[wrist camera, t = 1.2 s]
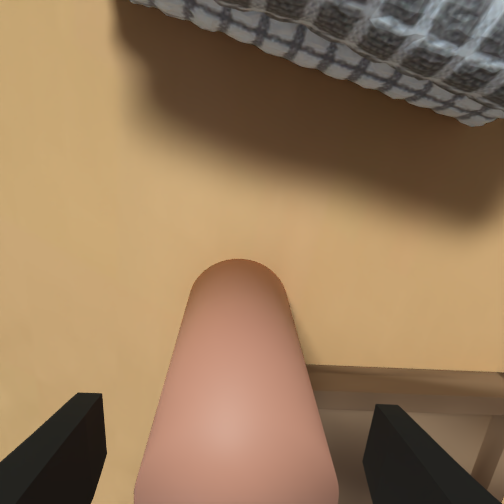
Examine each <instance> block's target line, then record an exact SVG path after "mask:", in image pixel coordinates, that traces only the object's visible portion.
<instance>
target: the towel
mask: <svg viewBox="0 0 504 504" xmlns="http://www.w3.org/2000/svg"><path fill="white" fill-rule="evenodd" d="M129 1H131V2H132V3H134V4H141V5H144V6H146V7H155V8H157V9H160V10H161V11H162V12H163V13H164V14H166V15H167V16H170V17H175V18H178V19H181V20H189V21H191V22H192V23H194V24H196V25H197V26H198V27H200V28H201V29H205V30H208V31H211V32H215V31H221V32H224V33H225V34H227V35H228V36H230V37H232V38H234V39H236V40H237V41H240V42H242V43H248V44H254V45H255V46H257V47H258V48H259V49H261V50H263V51H264V52H265V53H267V54H271V55H274V56H279V57H283V58H285V59H288V60H289V61H291V62H293V63H294V64H297V65H299V66H302V67H306V68H314V69H318V70H320V71H321V72H323V73H324V74H326V75H328V76H331V77H333V78H336V79H340V80H345V79H347V80H349V81H351V82H354V83H356V84H358V85H360V86H361V87H363V88H370V89H375V90H379V91H381V92H382V93H384V94H385V95H388V96H389V97H391V98H392V99H405V100H406V101H407V102H408V103H410V104H413V105H416V106H418V107H425V108H431V109H432V110H433V111H434V112H436V113H437V114H442V115H446V116H450V117H454V118H455V119H457V120H458V121H459V122H461V123H463V124H466V125H468V126H470V127H474V126H483V125H484V124H485V123H489V122H492V121H494V120H495V119H497V118H504V0H129Z"/></svg>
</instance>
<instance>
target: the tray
mask: <svg viewBox="0 0 504 504" xmlns="http://www.w3.org/2000/svg"><path fill="white" fill-rule="evenodd" d="M306 368H307V371H308V375H309V379H310V382H311V386H312V389H313V393H314V397H315V400H316V404H317V408H318V411H319V415H320V418H321V422H322V426H323V429H324V433H325V437H326V440H327V444H328V447H329V451H330V455H331V458H332V462H333V466H334V469H335V473H336V477H337V481H338V486H339V498H338V504H373V503H372V499H371V495H370V491H369V487H368V483H367V479H366V475H365V471H364V466H363V462H362V460H363V456H364V452H365V447H366V443H367V439H368V435H369V430H370V426H371V422H372V418H373V413H374V409H375V405H376V404H392V405H399V406H400V407H401V408H402V409H403V410H404V411H405V412H406V413H407V414H408V415H409V416H410V417H411V418H412V419H413V420H414V421H415V422H416V423H417V424H418V425H419V426H420V427H421V428H422V429H424V430H425V431H426V432H427V433H428V434H429V435H430V436H431V437H432V438H433V439H434V440H435V441H436V442H437V443H438V444H439V445H440V446H441V447H442V448H443V449H444V450H445V451H446V452H447V453H448V454H449V455H450V456H451V457H452V458H453V459H454V460H455V461H456V462H457V463H458V464H459V465H460V466H461V467H463V468H464V469H465V470H466V471H467V472H468V473H469V474H470V475H471V476H472V477H473V478H474V479H475V480H476V481H477V482H479V483H480V484H481V485H482V486H483V487H484V488H485V489H486V490H487V491H488V492H489V493H491V494H492V495H493V496H494V497H495V498H496V499H497V500H499V501H500V502H502V500H503V497H504V373H498V372H474V371H450V370H426V369H402V368H378V367H354V366H330V365H306Z"/></svg>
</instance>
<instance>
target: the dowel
mask: <svg viewBox="0 0 504 504" xmlns="http://www.w3.org/2000/svg"><path fill="white" fill-rule="evenodd" d="M338 498H339V486H338V481H337V477H336V473H335V469H334V466H333V462H332V458H331V455H330V451H329V447H328V444H327V440H326V437H325V433H324V429H323V426H322V422H321V418H320V415H319V411H318V408H317V404H316V400H315V397H314V393H313V389H312V386H311V382H310V379H309V375H308V371H307V368H306V364H305V361H304V357H303V353H302V350H301V346H300V342H299V339H298V335H297V332H296V328H295V324H294V321H293V317H292V313H291V310H290V306H289V303H288V299H287V295H286V292H285V289H284V286H283V284H282V283H281V281H280V279H279V278H278V277H277V276H276V274H275V273H273V272H272V271H271V270H270V269H269V268H267V267H266V266H264V265H262V264H260V263H257V262H255V261H251V260H245V259H231V260H226V261H222V262H219V263H217V264H214V265H213V266H211V267H209V268H208V269H206V270H205V271H204V272H203V273H202V274H201V275H200V276H199V277H198V278H197V280H196V281H195V283H194V285H193V287H192V289H191V292H190V295H189V299H188V302H187V306H186V309H185V313H184V316H183V320H182V323H181V327H180V330H179V334H178V337H177V341H176V344H175V348H174V351H173V354H172V358H171V361H170V365H169V368H168V372H167V375H166V379H165V382H164V386H163V389H162V393H161V396H160V400H159V403H158V407H157V410H156V414H155V417H154V421H153V424H152V428H151V431H150V435H149V438H148V442H147V445H146V449H145V452H144V456H143V459H142V463H141V466H140V469H139V473H138V476H137V480H136V484H135V489H134V504H338Z"/></svg>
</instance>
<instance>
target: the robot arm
mask: <svg viewBox="0 0 504 504" xmlns="http://www.w3.org/2000/svg"><path fill="white" fill-rule="evenodd" d="M106 455H107V449H106V437H105V424H104V411H103V399H102V393H77V394H76V395H75V396H73V397H72V398H71V399H70V400H69V401H68V402H67V403H66V404H64V405H63V406H62V407H61V408H60V409H59V410H58V411H57V412H56V413H55V414H54V415H53V416H51V417H50V418H49V419H48V420H47V421H46V422H45V423H44V424H43V425H42V426H40V427H39V428H38V429H37V430H36V431H35V432H34V433H33V434H32V435H31V436H29V437H28V438H27V439H26V440H25V441H24V442H23V443H22V444H20V445H19V446H18V447H17V448H16V449H15V450H14V451H12V452H11V453H10V454H9V455H8V456H7V457H6V458H4V459H3V460H2V461H1V462H0V504H91V502H92V499H93V497H94V494H95V491H96V488H97V484H98V481H99V478H100V475H101V472H102V468H103V465H104V462H105V458H106ZM362 462H363V466H364V471H365V475H366V479H367V483H368V487H369V491H370V495H371V499H372V503H373V504H502V503H501V502H500V501H499V500H497V499H496V498H495V497H494V496H493V495H492V494H491V493H489V492H488V491H487V490H486V489H485V488H484V487H483V486H482V485H481V484H480V483H479V482H477V481H476V480H475V479H474V478H473V477H472V476H471V475H470V474H469V473H468V472H467V471H466V470H465V469H464V468H463V467H461V466H460V465H459V464H458V463H457V462H456V461H455V460H454V459H453V458H452V457H451V456H450V455H449V454H448V453H447V452H446V451H445V450H444V449H443V448H442V447H441V446H440V445H439V444H438V443H437V442H436V441H435V440H434V439H433V438H432V437H431V436H430V435H429V434H428V433H427V432H426V431H425V430H424V429H422V428H421V427H420V426H419V425H418V424H417V423H416V422H415V421H414V420H413V419H412V418H411V417H410V416H409V415H408V414H407V413H406V412H405V411H404V410H403V409H402V408H401V407H400V406H399V405H392V404H376V405H375V409H374V413H373V418H372V422H371V426H370V430H369V435H368V439H367V443H366V447H365V452H364V456H363V460H362Z"/></svg>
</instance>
